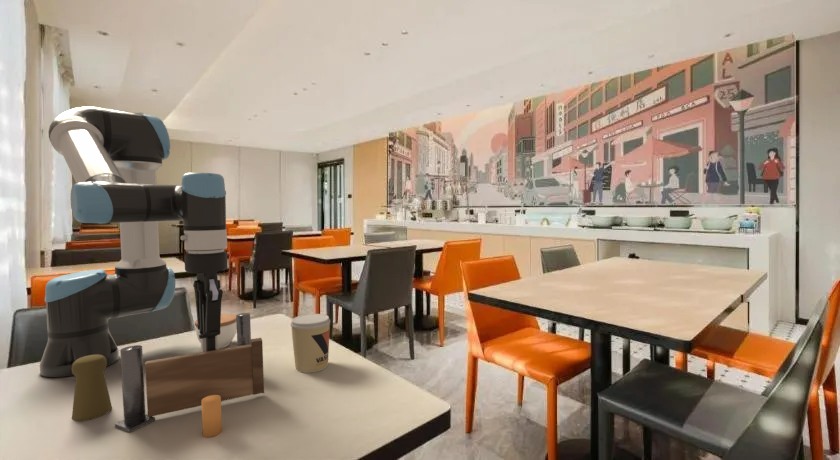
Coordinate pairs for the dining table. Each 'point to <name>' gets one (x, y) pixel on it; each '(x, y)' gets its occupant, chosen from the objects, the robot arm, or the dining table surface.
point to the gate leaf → (204, 377)
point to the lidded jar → (223, 330)
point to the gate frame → (135, 378)
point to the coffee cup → (310, 342)
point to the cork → (90, 388)
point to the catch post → (211, 415)
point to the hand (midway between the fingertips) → (210, 367)
